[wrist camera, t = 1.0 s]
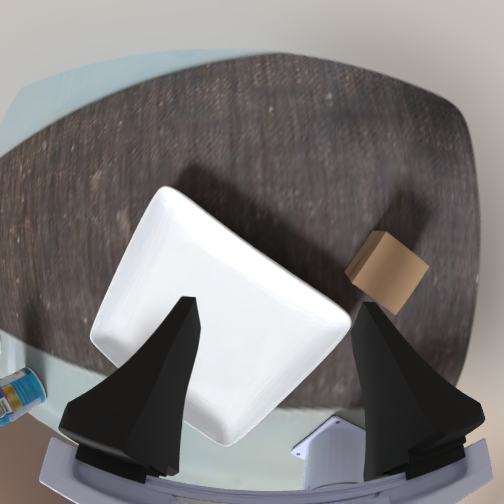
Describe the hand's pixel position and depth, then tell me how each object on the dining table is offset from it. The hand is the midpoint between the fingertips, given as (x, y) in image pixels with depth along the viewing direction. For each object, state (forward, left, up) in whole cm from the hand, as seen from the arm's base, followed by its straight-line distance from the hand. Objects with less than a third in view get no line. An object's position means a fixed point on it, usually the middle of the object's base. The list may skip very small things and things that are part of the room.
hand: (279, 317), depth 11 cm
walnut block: (-6, -5, -13) cm, 15 cm away
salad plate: (+4, +10, -14) cm, 18 cm away
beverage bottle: (+27, +50, -14) cm, 59 cm away
